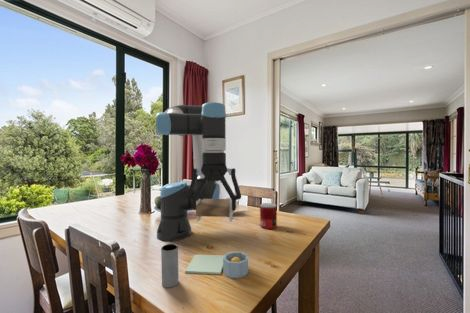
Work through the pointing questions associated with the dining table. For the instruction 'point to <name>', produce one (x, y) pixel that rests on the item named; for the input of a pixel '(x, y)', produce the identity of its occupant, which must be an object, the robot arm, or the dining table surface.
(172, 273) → the grey cylinder
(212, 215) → the cover
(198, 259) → the mat
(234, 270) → the bowl
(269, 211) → the canned food
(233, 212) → the teapot
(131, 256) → the dining table surface
